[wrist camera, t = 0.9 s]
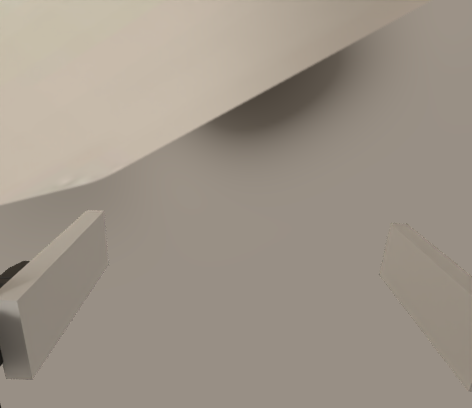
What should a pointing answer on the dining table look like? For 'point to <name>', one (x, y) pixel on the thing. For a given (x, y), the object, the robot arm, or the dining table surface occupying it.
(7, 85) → the dining table surface
